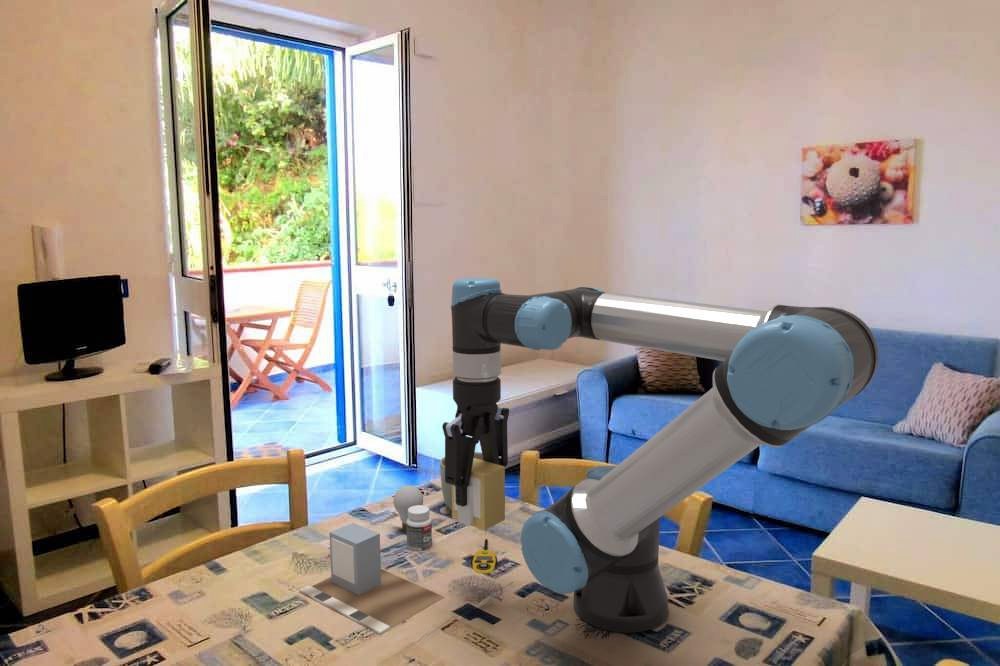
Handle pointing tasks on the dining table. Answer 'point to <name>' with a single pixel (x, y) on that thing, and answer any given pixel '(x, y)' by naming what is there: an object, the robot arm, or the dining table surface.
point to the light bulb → (406, 501)
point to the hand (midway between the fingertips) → (477, 517)
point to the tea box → (485, 494)
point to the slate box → (355, 558)
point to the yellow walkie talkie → (484, 560)
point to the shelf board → (375, 601)
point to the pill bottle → (419, 528)
